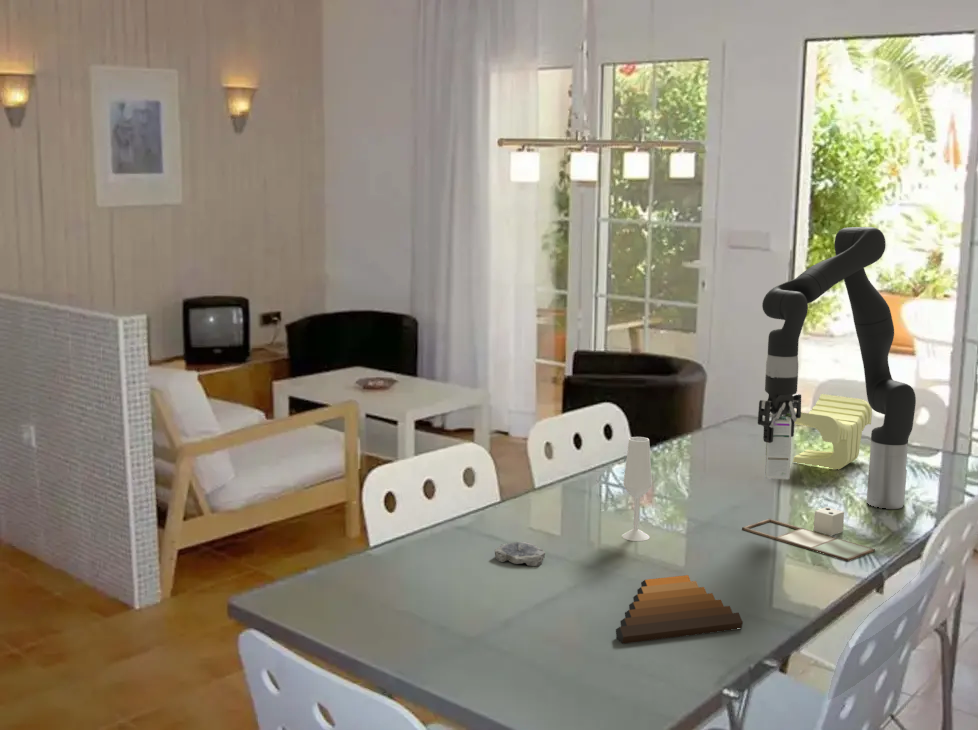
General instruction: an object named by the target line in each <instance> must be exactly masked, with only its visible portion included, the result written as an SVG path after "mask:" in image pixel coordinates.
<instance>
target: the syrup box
mask: <svg viewBox="0 0 978 730" xmlns="http://www.w3.org/2000/svg"><path fill="white" fill-rule="evenodd" d="M770 421H771V419H769V422H770ZM773 428H774V429H773V442H771V443H768V442H765V478H766V479H771V480H773V479H774V480H790V478H791V477H790V476H791V454H792V437H791V417H789V416H784V415H782V416H780V417H779V419H778V420H776V421H775V423H774V426H773Z"/></svg>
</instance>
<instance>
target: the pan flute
mask: <svg viewBox="0 0 978 730" xmlns="http://www.w3.org/2000/svg"><path fill="white" fill-rule="evenodd" d="M640 585H641V586H640V587H639V588H637V591H636V592H637V594H636V595H634V596H633V597H632V598H633V601H632V602H631V603H629V604H628V606H629V608H628V610H626V611H625V612H624V618H623V619H621V620H620V626H618V627H617V628H616V629H615V637H616V639H617V640H618V642H620V644H629V643H630V644H631V643H639V642H646V641H654V640H662V639H664V640H665V639H671V638H679V637H680V636H681V637H687V636H686V635H689V636H696V635H695V634H697V635H703V634H702V633H705V634H711V633H710V632H714V633H718V632H717V631H722V632H725V631H724V630H730V631H732V630H731V629H737V628H741V629H742V627H743V623H744V621H743V620H742V618H741V615H740V613H739V612H733V611H732V608H731V605H724V603H723V602H722V601H723V600H722V599H721V598H720V599H715V596H714V594H713V592H710V593H707V591H706V588H705V586H699V584H698V582H697V580H691V578H690V576H689V575H688V574H686V575H676V576H668V577H659V578H657V577H656V578H650V579H649V578H648V579H644V580H643V581H641V584H640ZM681 637H680V638H681Z"/></svg>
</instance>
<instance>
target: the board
mask: <svg viewBox="0 0 978 730" xmlns="http://www.w3.org/2000/svg"><path fill="white" fill-rule="evenodd" d="M767 523H773V524H777V525H781V526H785V527H788V528H791V529H793V530H792V531H790V532H785V533H783V534H781V535H778V536H775V535H772V534H768V533H765V532H762V531H758V530H755V529H752V528H754V527H758V526H761V525H764V524H767ZM794 529H795V530H794ZM741 530H743V531H745V532H749V533H753V534H756V535H758V536H762V537H765V538H768V539H772V540H776V541H780V542H783V543H786V544H789V545H791V546H792V545H793V546H795V547H798V548H802V549H805V548H806V550H808V549H810V550H809V551H812V550H814V551H813V552H815V551H818V552H821V553H820V554H822V553H824V554H823V555H825V554H826V556H828V555H829V557H833V558H835V559H839V560H842V561H846V562H850V561H852V560H856V559H859V558H861V557H863V556H866V555H868V554H870V553H873V552H875V551H876V550H875V548H873V547H871V546H870V547H869V546H866V545H863V544H859V543H856V542H852V541H848V540H845V539H842V538H837V537H834V536H833V535H832V536H831V535H827V534H824V533H821V532H817V531H814V530H811V529H806V528H803V527H800V526H796V525H792V524H789V523H787V522H786V523H785V522H782V521H778V520H775V519H772V518H768V519H764V520H761V521H759V522H754V523H752V524H749V525H746V526H743V527H741ZM818 552H817V553H818Z"/></svg>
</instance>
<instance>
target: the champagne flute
mask: <svg viewBox="0 0 978 730" xmlns="http://www.w3.org/2000/svg"><path fill="white" fill-rule="evenodd" d="M627 445H628V446H627V454H626V459H625V461H626V462H625V469H624V477H623V486H624V489H625V490H626V491H627V493H628V494H629V495H630V496H631V497H633V498H634V507H633V508H634V509H633V528H632V529H630V530H628V531H626V532H625V533H622V535H621V538H623V539H624V540H627V541H631V542H643V541H647V540H649V539H650V538H651V537H650V535H649V534H647V533H646V532H645V531H642V530H641V529H639V524H640V523H639V521H640V519H639V518H640V498H642V497H644V496H645V495H646V494H647V493H648V492H649V491H650V489H651V488H652V485H653V482H652V465H651V447H650V445H651V444H650V439H649V438H648V437H644V436H632V437H629V438H628V444H627Z"/></svg>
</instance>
